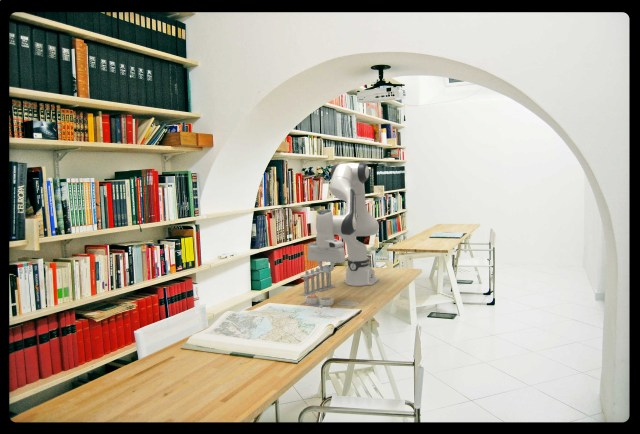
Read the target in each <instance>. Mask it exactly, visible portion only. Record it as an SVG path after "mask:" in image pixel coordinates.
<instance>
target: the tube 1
mask: <svg viewBox="0 0 640 434" xmlns="http://www.w3.org/2000/svg"><path fill="white" fill-rule="evenodd" d="M315 295H316V296H317V298H312V299H311V298H309V297H310V295H308V296H305V302H306V303H308V304H316V303H319V298H321V297H320V296H319V295H317V294H315Z"/></svg>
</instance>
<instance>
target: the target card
mask: <svg viewBox="0 0 640 434" xmlns="http://www.w3.org/2000/svg"><path fill="white" fill-rule="evenodd" d="M335 304H336V302H333V304H332V305H335ZM299 305H301V306H302V305H303V306H309V307H315V308H322V307H326V308H328V307H331V305H328V306H323V305H320V304H319V303H316V304H308V303H306V301H304V302H302V303H300V304H299Z"/></svg>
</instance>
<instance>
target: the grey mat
mask: <svg viewBox="0 0 640 434" xmlns="http://www.w3.org/2000/svg"><path fill="white" fill-rule="evenodd" d="M360 304H361V302H355V301H347V300H342V301H340V302H337V305H340V306H341V305H343V306H350V307H356V306H358V305H360Z"/></svg>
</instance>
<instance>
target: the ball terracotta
mask: <svg viewBox="0 0 640 434" xmlns="http://www.w3.org/2000/svg"><path fill="white" fill-rule="evenodd" d="M316 295H317V294H316V293H314V294H311V295H309V296H310V297H309V298H311V299H312V298H317V296H318V295H317V296H316Z"/></svg>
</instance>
